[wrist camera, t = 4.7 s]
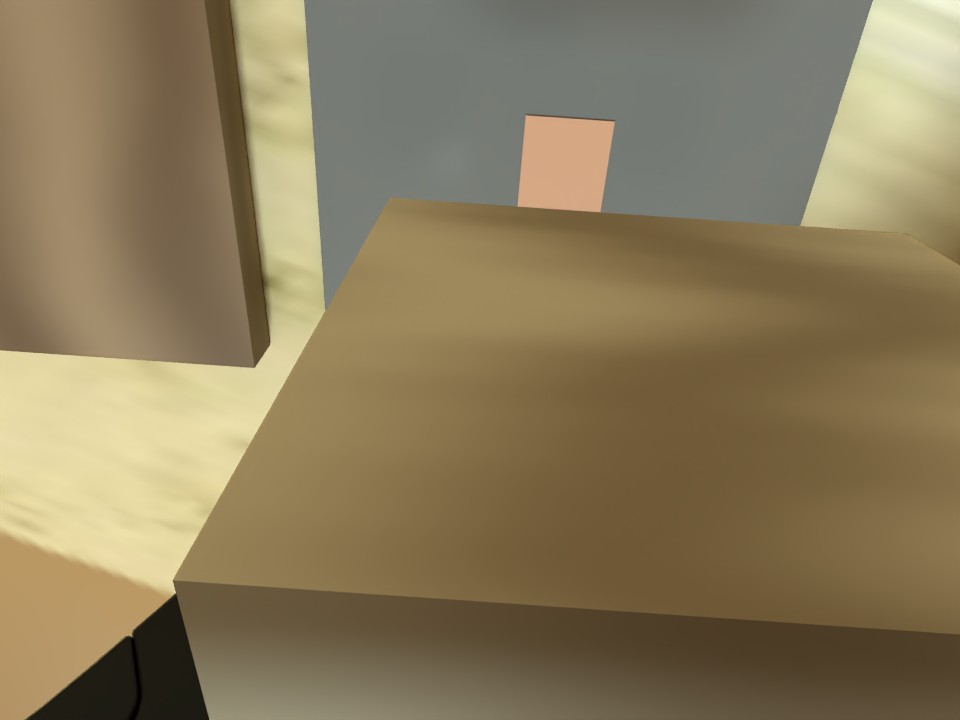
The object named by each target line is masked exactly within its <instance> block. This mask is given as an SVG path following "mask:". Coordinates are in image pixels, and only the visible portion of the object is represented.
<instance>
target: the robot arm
mask: <svg viewBox="0 0 960 720" xmlns="http://www.w3.org/2000/svg"><path fill="white" fill-rule="evenodd" d="M25 720H209V716H208V712H207V708H206V705H205V701H204V697H203V693H202V689H201V686H200V682H199V678H198V674H197V670H196V667H195V663H194V659H193V655H192V651H191V648H190V644H189V640H188V636H187V632H186V629H185V625H184V621H183V617H182V613H181V610H180V606H179V602H178V598H177V594H176V593H175V594H174V595H173V596H172V597H171V598H170V599H169V600H167V601H166V602H165V603H164V604H163V605H162V606H160V607H159V608H158V609H157V610H156V611H155V612H154V613H152V614H151V615H150V616H149V617H148V618H146V619H145V620H144V621H143V622H142V623H141V624H140V625H138V626H137V627H136V628H135V629H134V630H133V632H132V637H131V636H126V637H124V638H123V639H122V640H121V641H119V642H118V643H117V644H116V645H115V646H114V647H113V648H111V649H110V650H109V651H108V652H107V653H106V654H104V655H103V656H102V657H101V658H100V659H99V660H97V661H96V662H95V663H94V664H93V665H91V666H90V667H89V668H88V669H87V670H86V671H84V672H83V673H82V674H81V675H79V676H78V677H77V678H76V679H74V680H73V681H72V682H71V683H70V684H68V685H67V686H66V687H65V688H64V689H62V690H61V691H60V692H59V693H58V694H56V695H55V696H54V697H53V698H51V699H50V700H49V701H48V702H47V703H46V704H44V705H43V706H42V707H40V708H39V709H38V710H37V711H35V712H34V713H33V714H31V715H30V716H29V717H27V718H26V719H25Z"/></svg>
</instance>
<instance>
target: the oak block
mask: <svg viewBox="0 0 960 720" xmlns="http://www.w3.org/2000/svg"><path fill="white" fill-rule="evenodd" d="M173 583H174V587H175V591H176V594H177V598H178V602H179V606H180V610H181V613H182V617H183V621H184V625H185V629H186V632H187V636H188V640H189V644H190V648H191V651H192V655H193V659H194V663H195V667H196V670H197V674H198V678H199V682H200V686H201V689H202V693H203V697H204V701H205V705H206V708H207V712H208V716H209V720H960V265H959V264H957V263H955V262H954V261H952V260H950V259H948V258H947V257H945V256H943V255H942V254H940V253H938V252H937V251H935V250H933V249H932V248H930V247H928V246H927V245H925V244H923V243H921V242H920V241H918V240H916V239H915V238H913V237H911V236H910V235H908V234H905V233H891V232H876V231H862V230H848V229H833V228H819V227H805V226H790V225H776V224H762V223H747V222H733V221H718V220H704V219H690V218H675V217H661V216H647V215H632V214H618V213H604V212H589V211H575V210H561V209H546V208H532V207H518V206H503V205H489V204H475V203H460V202H446V201H432V200H417V199H403V198H389V200H388V202H387V203H386V205H385V207H384V209H383V210H382V212H381V214H380V216H379V217H378V219H377V221H376V223H375V225H374V226H373V228H372V230H371V232H370V233H369V235H368V237H367V239H366V240H365V242H364V244H363V246H362V247H361V249H360V251H359V253H358V255H357V256H356V258H355V260H354V262H353V263H352V265H351V267H350V269H349V270H348V272H347V274H346V276H345V277H344V279H343V281H342V283H341V284H340V286H339V288H338V290H337V292H336V293H335V295H334V297H333V299H332V300H331V302H330V304H329V306H328V307H327V309H326V311H325V313H324V314H323V316H322V318H321V320H320V322H319V323H318V325H317V327H316V329H315V330H314V332H313V334H312V336H311V337H310V339H309V341H308V343H307V344H306V346H305V348H304V350H303V351H302V353H301V355H300V357H299V359H298V360H297V362H296V364H295V366H294V367H293V369H292V371H291V373H290V374H289V376H288V378H287V380H286V381H285V383H284V385H283V387H282V389H281V390H280V392H279V394H278V396H277V397H276V399H275V401H274V403H273V404H272V406H271V408H270V410H269V411H268V413H267V415H266V417H265V419H264V420H263V422H262V424H261V426H260V427H259V429H258V431H257V433H256V434H255V436H254V438H253V440H252V441H251V443H250V445H249V447H248V448H247V450H246V452H245V454H244V456H243V457H242V459H241V461H240V463H239V464H238V466H237V468H236V470H235V471H234V473H233V475H232V477H231V478H230V480H229V482H228V484H227V486H226V487H225V489H224V491H223V493H222V494H221V496H220V498H219V500H218V501H217V503H216V505H215V507H214V508H213V510H212V512H211V514H210V516H209V517H208V519H207V521H206V523H205V524H204V526H203V528H202V530H201V531H200V533H199V535H198V537H197V538H196V540H195V542H194V544H193V545H192V547H191V549H190V551H189V553H188V554H187V556H186V558H185V560H184V561H183V563H182V565H181V567H180V568H179V570H178V572H177V574H176V575H175V577H174V579H173Z"/></svg>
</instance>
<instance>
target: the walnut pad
mask: <svg viewBox="0 0 960 720" xmlns="http://www.w3.org/2000/svg"><path fill="white" fill-rule="evenodd" d="M269 346H270V342H269V333H268V325H267V317H266V308H265V300H264V292H263V283H262V275H261V267H260V259H259V250H258V242H257V234H256V225H255V217H254V209H253V200H252V192H251V184H250V175H249V167H248V159H247V150H246V142H245V134H244V125H243V117H242V109H241V100H240V92H239V84H238V75H237V67H236V59H235V50H234V42H233V34H232V25H231V17H230V9H229V0H0V350H4V351H19V352H33V353H48V354H62V355H76V356H91V357H105V358H120V359H134V360H149V361H163V362H178V363H192V364H206V365H221V366H235V367H250V368H255V366H256V365H257V363H258V362H259V360H260V359H261V357H262V356H263V354H264V353H265V351H266V350H267V348H268V347H269Z"/></svg>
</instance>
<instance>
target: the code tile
mask: <svg viewBox="0 0 960 720" xmlns="http://www.w3.org/2000/svg"><path fill="white" fill-rule="evenodd" d="M872 1H873V0H304V3H305V17H306V32H307V47H308V61H309V76H310V91H311V106H312V120H313V135H314V150H315V165H316V179H317V194H318V209H319V223H320V238H321V253H322V268H323V282H324V297H325V311H326V309H327V307H328V306H329V304H330V302H331V300H332V299H333V297H334V295H335V293H336V292H337V290H338V288H339V286H340V284H341V283H342V281H343V279H344V277H345V276H346V274H347V272H348V270H349V269H350V267H351V265H352V263H353V262H354V260H355V258H356V256H357V255H358V253H359V251H360V249H361V247H362V246H363V244H364V242H365V240H366V239H367V237H368V235H369V233H370V232H371V230H372V228H373V226H374V225H375V223H376V221H377V219H378V217H379V216H380V214H381V212H382V210H383V209H384V207H385V205H386V203H387V202H388V200H389V198H403V199H417V200H432V201H446V202H460V203H475V204H489V205H503V206H518V207H532V208H546V209H561V210H575V211H589V212H604V213H618V214H632V215H647V216H661V217H675V218H690V219H704V220H718V221H733V222H747V223H762V224H776V225H790V226H800V224H801V221H802V218H803V215H804V212H805V209H806V206H807V203H808V199H809V196H810V193H811V190H812V187H813V184H814V181H815V178H816V175H817V172H818V168H819V165H820V162H821V159H822V156H823V153H824V150H825V147H826V144H827V141H828V137H829V134H830V131H831V128H832V125H833V122H834V119H835V116H836V113H837V110H838V107H839V103H840V100H841V97H842V94H843V91H844V88H845V85H846V82H847V79H848V76H849V72H850V69H851V66H852V63H853V60H854V57H855V54H856V51H857V48H858V45H859V41H860V38H861V35H862V32H863V29H864V26H865V23H866V20H867V17H868V14H869V10H870V7H871V4H872Z"/></svg>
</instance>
